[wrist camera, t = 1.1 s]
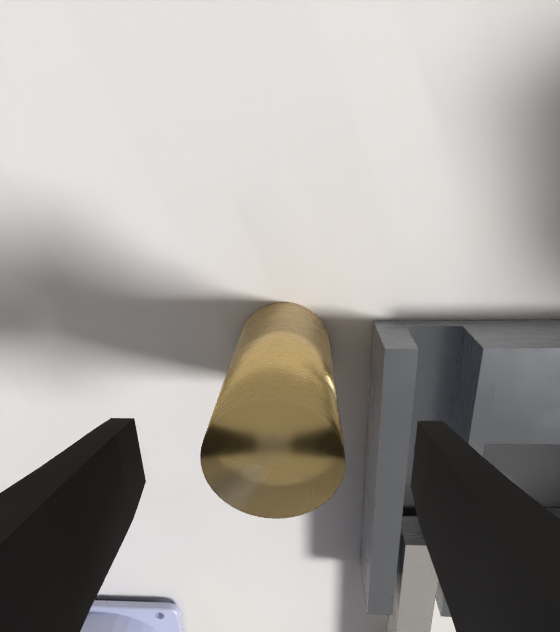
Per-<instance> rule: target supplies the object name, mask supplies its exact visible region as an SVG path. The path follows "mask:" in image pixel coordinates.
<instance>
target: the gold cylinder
mask: <svg viewBox="0 0 560 632" xmlns="http://www.w3.org/2000/svg"><path fill="white" fill-rule="evenodd" d="M200 456H201V466H202V471H203V473H204V476H205V478H206V480H207V482H208V484H209V485H210V487H211V488H212V490H213V491H214V492H215V493H216V494H217V495H218V496H219V497H220V498H221V499H222V500H223V501H225V502H226V503H228V504H229V505H231V506H232V507H234V508H236V509H238V510H240V511H242V512H245V513H247V514H250V515H254V516H258V517H264V518H289V517H295V516H299V515H302V514H305V513H308V512H310V511H312V510H314V509H316V508H318V507H319V506H321V505H322V504H324V503H325V502H326V501H327V500H328V499H330V497H331V496H332V495H333V494H334V493H335V492H336V490H337V489H338V487H339V485H340V483H341V481H342V479H343V475H344V471H345V453H344V446H343V439H342V431H341V424H340V417H339V409H338V402H337V395H336V387H335V380H334V373H333V365H332V358H331V351H330V343H329V337H328V333H327V330H326V328H325V326H324V324H323V322H322V321H321V320H320V318H319V317H318V316H317V315H316V314H315V313H313V312H312V311H311V310H309V309H307V308H306V307H303V306H301V305H298V304H294V303H288V302H280V303H273V304H269V305H266V306H264V307H262V308H260V309H259V310H257V311H256V312H254V313H253V314H252V315H251V316H250V317H249V318H248V320H247V321H246V323H245V324H244V326H243V329H242V331H241V334H240V337H239V340H238V343H237V346H236V348H235V351H234V354H233V357H232V360H231V363H230V366H229V368H228V371H227V374H226V377H225V380H224V383H223V386H222V388H221V391H220V394H219V397H218V400H217V403H216V406H215V408H214V411H213V414H212V417H211V420H210V423H209V426H208V428H207V431H206V434H205V437H204V440H203V443H202V447H201V454H200Z"/></svg>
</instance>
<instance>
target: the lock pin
mask: <svg viewBox="0 0 560 632" xmlns="http://www.w3.org/2000/svg"><path fill="white" fill-rule="evenodd" d="M437 583H438V577H437V575H436V572H435V569H434V566H433V563H432V560H431V558H430V555H429V552H428V549H427V546H426V543H425V540H424V537H423V534H422V531H421V529H420V525H419V521H418V517H417V516H402V523H401V533H400V544H399V554H398V564H397V574H396V584H395V595H394V605H393V615H389V619H388V629H387V632H430V630H431V623H432V616H433V610H434V603H435V596H436V589H437Z"/></svg>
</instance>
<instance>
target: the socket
mask: <svg viewBox="0 0 560 632" xmlns="http://www.w3.org/2000/svg"><path fill="white" fill-rule="evenodd" d="M417 421H443V422H445V423H446V424H447V425H448V426H449V427H450V428H452V429H453V430H454V431H455V432H456V433H457V434H458V435H459V436H460V437H461V438H463V439H464V440H465V441H466V442H467V443H468V444H469V445H470V446H471V447H472V448H474V449H475V450H476V451H477V452H478V453H479V454H480V455H481V456H482V457H483V455H484V449H485V444H560V320H445V321H373V339H372V358H371V376H370V395H369V413H368V432H367V450H366V468H365V487H364V505H363V524H362V542H361V561H360V564H361V571H362V578H363V586H364V593H365V600H366V607H367V614H386V615H393V605H394V595H395V584H396V574H397V564H398V554H399V544H400V533H401V523H402V516H417V513H416V508H415V504H414V499H413V494H412V490H411V478H412V469H413V459H414V450H415V440H416V431H417ZM544 508H546V509H547V510H548V511H550V512H551V513H552V514H554V515H555V516H556V517H558V518H559V519H560V508H555V507H544ZM435 598H436V601H437V605H438V608H439V611H440V615H441V616H446V617H451V614H450V611H449V609H448V606H447V603H446V600H445V597H444V594H443V592H442V589H441V586H440V583H439V580H438V583H437V589H436V596H435Z"/></svg>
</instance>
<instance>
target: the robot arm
mask: <svg viewBox="0 0 560 632" xmlns="http://www.w3.org/2000/svg"><path fill="white" fill-rule="evenodd" d="M145 482H146V480H145V475H144V469H143V464H142V459H141V453H140V448H139V442H138V437H137V431H136V426H135V420H134V418H111V419H109V420H108V421H106V422H105V423H103V424H101V425H100V426H98V427H97V428H95V429H94V430H93V431H91V432H90V433H88V434H87V435H85V436H84V437H83V438H81V439H80V440H78V441H77V442H75V443H74V444H73V445H71V446H70V447H68V448H67V449H66V450H64V451H63V452H61V453H60V454H58V455H57V456H55V457H54V458H53V459H51V460H50V461H48V462H47V463H45V464H44V465H43V466H41V467H40V468H38V469H37V470H35V471H34V472H32V473H30V474H29V475H27V476H26V477H24V478H23V479H21V480H20V481H18V482H17V483H15V484H13V485H12V486H10V487H9V488H7V489H6V490H4V491H3V492H1V493H0V632H183V626H182V620H181V614H180V609H179V607H178V606H177V605H176V604H174V603H165V602H135V601H104V600H95V598H96V596H97V594H98V592H99V590H100V588H101V586H102V584H103V582H104V579H105V577H106V575H107V573H108V571H109V569H110V567H111V565H112V563H113V561H114V559H115V557H116V555H117V553H118V550H119V548H120V546H121V544H122V542H123V540H124V538H125V536H126V534H127V531H128V529H129V527H130V525H131V523H132V521H133V518H134V515H135V512H136V510H137V507H138V504H139V501H140V498H141V494H142V491H143V488H144V485H145ZM411 490H412V494H413V499H414V504H415V508H416V513H417V517H418V521H419V525H420V529H421V531H422V534H423V537H424V540H425V543H426V546H427V549H428V552H429V555H430V558H431V560H432V563H433V566H434V569H435V572H436V575H437V577H438V580H439V583H440V586H441V589H442V592H443V594H444V597H445V600H446V603H447V606H448V609H449V611H450V614H451V617H452V620H453V623H454V626H455V629H456V632H560V519H559V518H558V517H556V516H555V515H554V514H552V513H551V512H550V511H548V510H547V509H546V508H544V507H543V506H542V505H541V504H539V503H538V502H537V501H535V500H534V499H533V498H532V497H530V496H529V495H528V494H526V493H525V492H524V491H523V490H521V489H520V488H519V487H518V486H516V485H515V484H514V483H513V482H512V481H510V480H509V479H508V478H507V477H506V476H504V475H503V474H502V473H501V472H500V471H498V470H497V469H496V468H495V467H494V466H493V465H492V464H490V463H489V462H488V461H487V460H486V459H485V458H484V457H482V456H481V455H480V454H479V453H478V452H477V451H476V450H475V449H474V448H472V447H471V446H470V445H469V444H468V443H467V442H466V441H465V440H464V439H463V438H461V437H460V436H459V435H458V434H457V433H456V432H455V431H454V430H453V429H452V428H450V427H449V426H448V425H447V424H446V423H445V422H443V421H417V431H416V440H415V450H414V459H413V469H412V478H411Z"/></svg>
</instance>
